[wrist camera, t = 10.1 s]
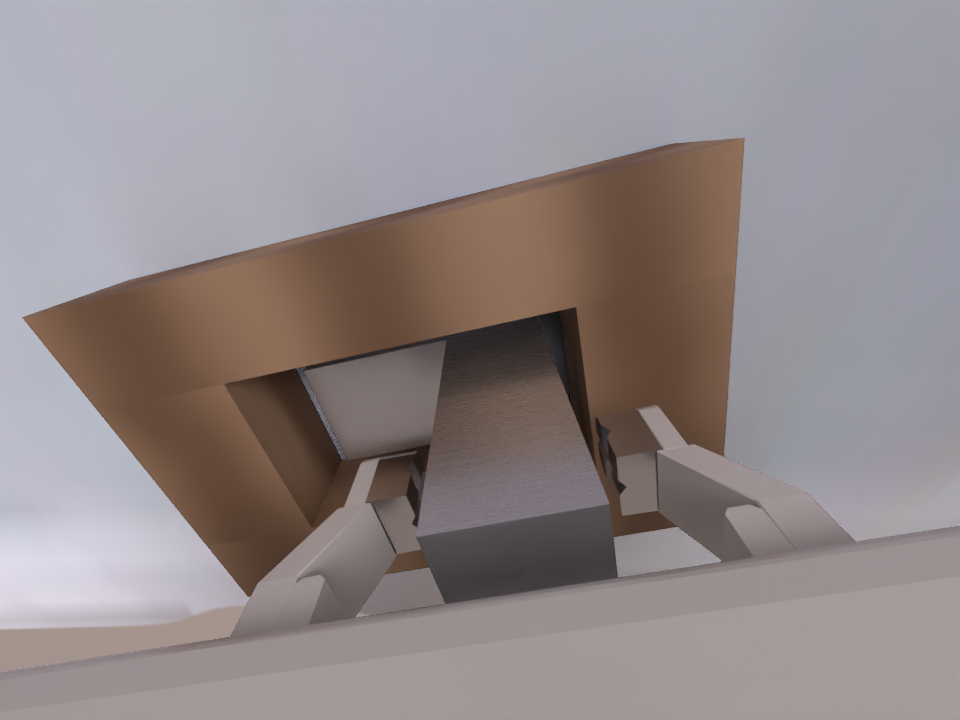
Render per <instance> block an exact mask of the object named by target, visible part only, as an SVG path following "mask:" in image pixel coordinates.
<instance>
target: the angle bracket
mask: <svg viewBox="0 0 960 720" xmlns="http://www.w3.org/2000/svg"><path fill="white" fill-rule="evenodd" d="M303 372H304V374H305V376H306V378H307V380H308V382H309V384H310V386H311V388H312V390H313V392H314V394H315V396H316V398H317V400H318V402H319V404H320V406H321V408H322V410H323V412H324V414H325V416H326V418H327V420H328V422H329V424H330V426H331V428H332V430H333V432H334V434H335V436H336V438H337V440H338V442H339V444H340V446H341V448H342V450H343V452H344V454H345V456H346V458H347V460H354V459H359V458H364V457H369V456H374V455H380V454H385V453H390V452H395V451H400V450H405V449H411V448H416V447H421V446H426V445H430V450H429V457H428V463H427V470H426V476H425V483H424V489H423V495H422V502H421V508H420V515H419V521H418V528H417V534H416V538H417V541H418V543H419V545H420V547H421V549H422V552H423V554H424V556H425V558H426V561H427V563H428V565H429V567H430V570H431V572H432V574H433V576H434V579H435V581H436V583H437V585H438V588H439V590H440V592H441V594H442V597H443V599H444V601H445V603H446V604H449V603H456V602H462V601H469V600H475V599H482V598H489V597H495V596H502V595H508V594H515V593H521V592H528V591H535V590H541V589H548V588H554V587H561V586H567V585H574V584H581V583H587V582H594V581H600V580H607V579H614V578H618V575H617V566H616V557H615V548H614V539H613V530H612V521H611V512H610V504H609V501H608V499H607V496H606V493H605V491H604V488H603V486H602V483H601V481H600V478H599V476H598V473H597V470H596V468H595V465H594V463H593V460H592V458H591V455H590V452H589V450H588V447H587V445H586V442H585V440H584V437H583V435H582V432H581V429H580V427H579V424H578V422H577V419H576V417H575V414H574V411H573V409H572V406H571V404H570V401H569V399H568V396H567V394H566V391H565V388H564V386H563V383H562V381H561V378H560V376H559V373H558V370H557V368H556V365H555V363H554V360H553V358H552V355H551V353H550V350H549V347H548V345H547V342H546V340H545V337H544V335H543V332H542V329H541V327H540V324H539V322H538V319H537V317H536V316H533V317H528V318H524V319H519V320H515V321H510V322H506V323H501V324H496V325H492V326H487V327H483V328H478V329H474V330H469V331H464V332H460V333H455V334H451V335H446V336H441V337H437V338H432V339H428V340H423V341H419V342H414V343H409V344H405V345H400V346H396V347H391V348H387V349H382V350H377V351H373V352H368V353H364V354H359V355H355V356H350V357H345V358H341V359H336V360H332V361H327V362H322V363H318V364H313V365H309V366H307V367H306V368H305V369H304V371H303Z"/></svg>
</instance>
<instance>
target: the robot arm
mask: <svg viewBox="0 0 960 720" xmlns="http://www.w3.org/2000/svg"><path fill="white" fill-rule="evenodd" d="M595 423H596V431H597V433H598V436H599V438H600V442H599V443H598V448H599V455H600V459H601V464H602V467H603V470H604V473H605V476H606V478H607V481H609V482H610V483H612V490H613V496H614V498H615V500H616V503H617V505H618V507H619V510H620V512H621V515H622V516H624V515H631V514H638V513H646V512H653V511H659V513H660V514H662V515H663V516H664V517H666V518H667V519H668V520H670V521H671V522H672V523H674V524H675V525H676V526H677V527H679V528H680V529H681V530H683V531H684V532H685V533H687V534H688V535H689V536H691V537H692V538H693V539H695V540H696V541H697V542H699V543H700V544H701V545H703V546H704V547H705V548H706V549H708V550H709V551H710V552H712V553H713V554H714V555H716V556H717V557H718V558H720V559H721V562H719V563H712V564H706V565H699V566H693V567H686V568H679V569H673V570H666V571H660V572H653V573H647V574H640V575H633V576H627V577H620V578H614V579H607V580H600V581H594V582H587V583H581V584H574V585H567V586H561V587H554V588H548V589H541V590H535V591H528V592H521V593H515V594H508V595H502V596H495V597H489V598H482V599H475V600H469V601H462V602H456V603H449V604H443V605H436V606H429V607H423V608H416V609H410V610H403V611H397V612H390V613H383V614H377V615H370V616H364V617H358V618H355V617H356V615H357V614H358V612H359V611H360V610H361V608H362V607H363V605H364V604H365V602H366V601H367V599H368V598H369V596H370V595H371V593H372V592H373V590H374V589H375V587H376V586H377V584H378V583H379V581H380V580H381V579H382V577H383V576H384V574H385V573H386V571H387V570H388V568H389V567H390V565H391V564H392V562H393V561H394V559H395V558H396V554H400V553H406V552H411V551H416V550H421V547H420V545H419V543H418V541H417V538H416V534H417V528H418V521H419V515H420V508H421V502H422V495H423V489H424V483H425V476H426V473H425V472H423V467H424V461H423V459H422V456H421V454H420V453H419V452H417V451H416V452H410V453H404V454H398V455H392V456H386V457H382V458H375V459H370V460H364V461H363V462H362V463H361V464H360V466H359V469H358V472H357V474H356V477H355V479H354V482H353V485H352V487H351V490H350V492H349V495H348V498H347V500H346V503H345V505H344V507H343V508H338V509H337V510H336V511H335V512H334V513H333V514H332V515H331V516H330V517H329V518H327V519H326V520H325V521H324V522H323V523H322V524H321V525H320V526H319V527H318V528H317V529H316V530H315V531H313V532H312V533H311V534H310V535H309V536H308V537H307V538H306V539H305V540H304V541H303V542H302V543H301V544H299V545H298V546H297V547H296V548H295V549H294V550H293V551H292V552H291V553H290V554H289V555H288V556H287V557H286V558H284V559H283V560H282V561H281V562H280V563H279V564H278V565H277V566H276V567H275V568H274V569H273V570H272V571H270V572H269V573H268V574H267V575H266V576H265V577H264V578H263V579H262V580H261V581H260V582H259V583H258V584H257V586H256V588H255V590H254V592H253V594H252V595H251V597H250V599H249V601H248V603H247V605H246V607H245V609H244V611H243V613H242V615H241V617H240V619H239V621H238V623H237V624H236V626H235V629H234V630H233V632H232V634H231V636H230V637H226V638H219V639H213V640H206V641H200V642H193V643H186V644H180V645H173V646H167V647H160V648H154V649H147V650H141V651H134V652H127V653H122V654H115V655H108V656H101V657H95V658H88V659H82V660H75V661H68V662H62V663H56V664H49V665H42V666H36V667H30V668H22V669H16V670H9V671H2V672H0V720H960V526H956V527H949V528H942V529H936V530H929V531H923V532H916V533H910V534H903V535H896V536H890V537H883V538H877V539H870V540H864V541H857V542H856V541H855V540H854V539H853V538H852V537H851V536H850V535H849V534H848V533H847V532H846V531H845V530H844V529H843V528H842V527H841V526H840V525H839V524H838V523H837V522H836V521H835V520H834V519H833V518H832V517H831V516H830V515H829V514H828V513H827V512H826V511H825V510H824V509H823V508H822V507H821V506H820V505H819V504H818V503H817V502H816V501H815V500H814V499H813V498H812V497H811V496H810V495H809V494H808V493H806V492H803V491H801V490H799V489H797V488H794V487H792V486H790V485H787V484H785V483H783V482H780V481H778V480H776V479H773V478H771V477H769V476H766V475H764V474H762V473H760V472H757V471H755V470H753V469H750V468H748V467H746V466H743V465H741V464H739V463H736V462H734V461H732V460H730V459H727V458H725V457H723V456H720V455H718V454H716V453H713V452H711V451H709V450H706V449H704V448H702V447H700V446H697V445H695V444H693V445H687V443H686V442H685V441H684V439H683V438H682V437H681V435H680V434H679V433H678V431H677V430H676V429H675V427H674V426H673V425H672V423H671V422H670V421H669V419H668V418H667V417H666V415H665V414H664V413H663V412H662V410H661V409H660V408H659V406H657V405H651V406H647V407H642V408H638V409H635V410H631V411H626V412H621V413H616V414H611V415H606V416H601V417H596V419H595Z"/></svg>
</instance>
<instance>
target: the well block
mask: <svg viewBox="0 0 960 720" xmlns="http://www.w3.org/2000/svg"><path fill="white" fill-rule="evenodd" d="M743 154H744V138H740V139H727V140H714V141H701V142H688V143H676V144H669V145H665V146H661V147H657V148H653V149H649V150H645V151H642V152H638V153H634V154H630V155H626V156H622V157H618V158H614V159H610V160H606V161H602V162H598V163H594V164H590V165H586V166H582V167H578V168H574V169H570V170H566V171H562V172H558V173H554V174H550V175H546V176H542V177H538V178H534V179H530V180H526V181H522V182H518V183H514V184H510V185H506V186H502V187H498V188H494V189H490V190H486V191H482V192H478V193H474V194H470V195H466V196H462V197H458V198H454V199H450V200H446V201H442V202H438V203H434V204H430V205H426V206H422V207H418V208H415V209H411V210H407V211H403V212H399V213H395V214H391V215H387V216H383V217H379V218H375V219H371V220H367V221H363V222H359V223H355V224H351V225H347V226H343V227H339V228H335V229H331V230H327V231H323V232H319V233H315V234H311V235H307V236H303V237H299V238H295V239H291V240H287V241H283V242H279V243H275V244H271V245H267V246H263V247H259V248H255V249H251V250H247V251H243V252H239V253H235V254H231V255H227V256H223V257H219V258H215V259H211V260H207V261H203V262H199V263H195V264H192V265H188V266H184V267H180V268H176V269H172V270H168V271H164V272H160V273H156V274H152V275H148V276H144V277H140V278H136V279H132V280H128V281H125V282H122V283H119V284H117V285H114V286H111V287H108V288H105V289H102V290H99V291H96V292H94V293H91V294H88V295H85V296H82V297H79V298H76V299H74V300H71V301H68V302H65V303H62V304H59V305H56V306H54V307H51V308H48V309H45V310H42V311H39V312H36V313H34V314H31V315H28V316H25V317H22V318H23V319H24V320H25V322H26V323H27V324H28V325H29V326H30V328H31V329H32V330H33V331H34V333H35V334H36V335H37V336H38V338H39V339H40V340H41V341H42V343H43V344H44V345H45V346H46V348H47V349H48V350H49V351H50V352H51V354H52V355H53V356H54V357H55V359H56V360H57V361H58V362H59V364H60V365H61V366H62V367H63V369H64V370H65V371H66V372H67V373H68V375H69V376H70V377H71V378H72V380H73V381H74V382H75V383H76V385H77V386H78V387H79V388H80V390H81V391H82V392H83V393H84V394H85V396H86V397H87V398H88V399H89V401H90V402H91V403H92V404H93V406H94V407H95V408H96V409H97V411H98V412H99V413H100V414H101V415H102V417H103V418H104V419H105V420H106V422H107V423H108V424H109V425H110V427H111V428H112V429H113V430H114V432H115V433H116V434H117V435H118V437H119V438H120V439H121V440H122V441H123V443H124V444H125V445H126V446H127V448H128V449H129V450H130V451H131V453H132V454H133V455H134V456H135V458H136V459H137V460H138V461H139V462H140V464H141V465H142V466H143V467H144V469H145V470H146V471H147V472H148V474H149V475H150V476H151V477H152V479H153V480H154V481H155V482H156V483H157V485H158V486H159V487H160V488H161V490H162V491H163V492H164V493H165V495H166V496H167V497H168V498H169V500H170V501H171V502H172V503H173V504H174V506H175V507H176V508H177V509H178V511H179V512H180V513H181V514H182V516H183V517H184V518H185V519H186V521H187V522H188V523H189V524H190V526H191V527H192V528H193V529H194V530H195V532H196V533H197V534H198V535H199V537H200V538H201V539H202V540H203V542H204V543H205V544H206V545H207V547H208V548H209V549H210V550H211V551H212V553H213V554H214V555H215V556H216V558H217V559H218V560H219V561H220V563H221V564H222V565H223V566H224V568H225V569H226V570H227V571H228V572H229V574H230V575H231V576H232V577H233V579H234V580H235V581H236V582H237V584H238V585H239V586H240V587H241V589H242V590H243V591H244V592H245V593H246V595H247V596H248V597H249V596H251V595H252V594H253V592H254V590H255V588H256V586H257V584H258V583H259V582H260V581H261V580H262V579H263V578H264V577H265V576H266V575H267V574H268V573H269V572H270V571H272V570H273V569H274V568H275V567H276V566H277V565H278V564H279V563H280V562H281V561H282V560H283V559H284V558H286V557H287V556H288V555H289V554H290V553H291V552H292V551H293V550H294V549H295V548H296V547H297V546H298V545H299V544H301V543H302V542H303V541H304V540H305V539H306V538H307V537H308V536H309V535H310V534H311V533H312V532H313V531H315V530H316V529H317V528H318V527H319V526H320V525H321V524H322V523H323V522H324V521H325V520H326V519H327V518H329V517H330V516H331V515H332V514H333V513H334V512H335V511H336V510H337V509H338V508H343V507H344V505H345V503H346V500H347V498H348V495H349V492H350V490H351V487H352V485H353V482H354V479H355V477H356V474H357V472H358V469H359V466H360V464H361V463H362V462H363V461H364V460H370V459H375V458H382V457H386V456H392V455H398V454H404V453H410V452H416V451H417V452H419V453H420V454H421V456H422V459H423V461H424V467H423V472H425V473H426V470H427V463H428V457H429V450H430V445H426V446H421V447H416V448H411V449H405V450H400V451H395V452H390V453H385V454H380V455H374V456H369V457H364V458H359V459H354V460H347V459H345V460H341V458H340V456H339V454H338V452H337V450H336V448H335V446H334V444H333V442H332V440H331V438H330V436H329V434H328V432H327V430H326V428H325V426H324V424H323V422H322V420H321V418H320V416H319V414H318V412H317V410H316V408H315V406H314V404H313V402H312V400H311V398H310V396H309V394H308V392H307V390H306V388H305V386H304V385H303V383H302V381H301V379H300V377H299V375H298V373H297V371H296V369H295V368H300V367H304V366H309V365H313V364H318V363H322V362H327V361H332V360H336V359H341V358H345V357H350V356H355V355H359V354H364V353H368V352H373V351H377V350H382V349H387V348H391V347H396V346H400V345H405V344H409V343H414V342H419V341H423V340H428V339H432V338H437V337H441V336H446V335H451V334H455V333H460V332H464V331H469V330H474V329H478V328H483V327H487V326H492V325H496V324H501V323H506V322H510V321H515V320H519V319H524V318H528V317H533V316H538V315H542V314H547V313H551V312H556V311H558V312H559V319H560V326H561V333H562V339H563V346H564V353H565V360H566V366H567V373H568V380H569V387H570V393H571V400H572V407H573V411H574V414H575V417H576V419H577V422H578V424H579V427H580V429H581V432H582V435H583V437H584V440H585V442H586V445H587V447H588V450H589V452H590V455H591V458H592V460H593V463H594V465H595V468H596V470H597V473H598V476H599V478H600V481H601V483H602V486H603V488H604V491H605V493H606V496H607V499H608V501H609V504H610V512H611V521H612V530H613V537H617V536H623V535H629V534H635V533H641V532H648V531H654V530H660V529H666V528H672V527H677V526H676V525H675V524H674V523H672V522H671V521H670V520H668V519H667V518H666V517H664V516H663V515H662V514H660V513H659V511H653V512H646V513H638V514H631V515H624V516H622V515H621V512H620V510H619V507H618V505H617V503H616V500H615V498H614V496H613V490H612V483H610V482H609V481H607V478H606V476H605V473H604V470H603V467H602V464H601V459H600V455H599V448H598V443H599V442H600V438H599V436H598V433H597V431H596V423H595V419H596V417H601V416H606V415H611V414H616V413H621V412H626V411H631V410H635V409H638V408H642V407H647V406H651V405H657V406H659V408H660V409H661V410H662V412H663V413H664V414H665V415H666V417H667V418H668V419H669V421H670V422H671V423H672V425H673V426H674V427H675V429H676V430H677V431H678V433H679V434H680V435H681V437H682V438H683V439H684V441H685V442H686V443H687V445H693V444H695V445H697V446H700V447H702V448H704V449H706V450H709V451H711V452H713V453H716V454H718V455H720V456H723V457H724V445H725V429H726V414H727V399H728V383H729V368H730V353H731V338H732V322H733V307H734V292H735V276H736V261H737V246H738V230H739V215H740V200H741V184H742V169H743ZM427 567H429V565H428V563H427V561H426V558H425V556H424V554H423V552H422V549H421V550H416V551H411V552H406V553H400V554H396V558H395V559H394V561H393V562H392V564H391V565H390V567H389V568H388V570H387V571H386V573H385V574H390V573H396V572H402V571H409V570H415V569H421V568H427Z"/></svg>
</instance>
